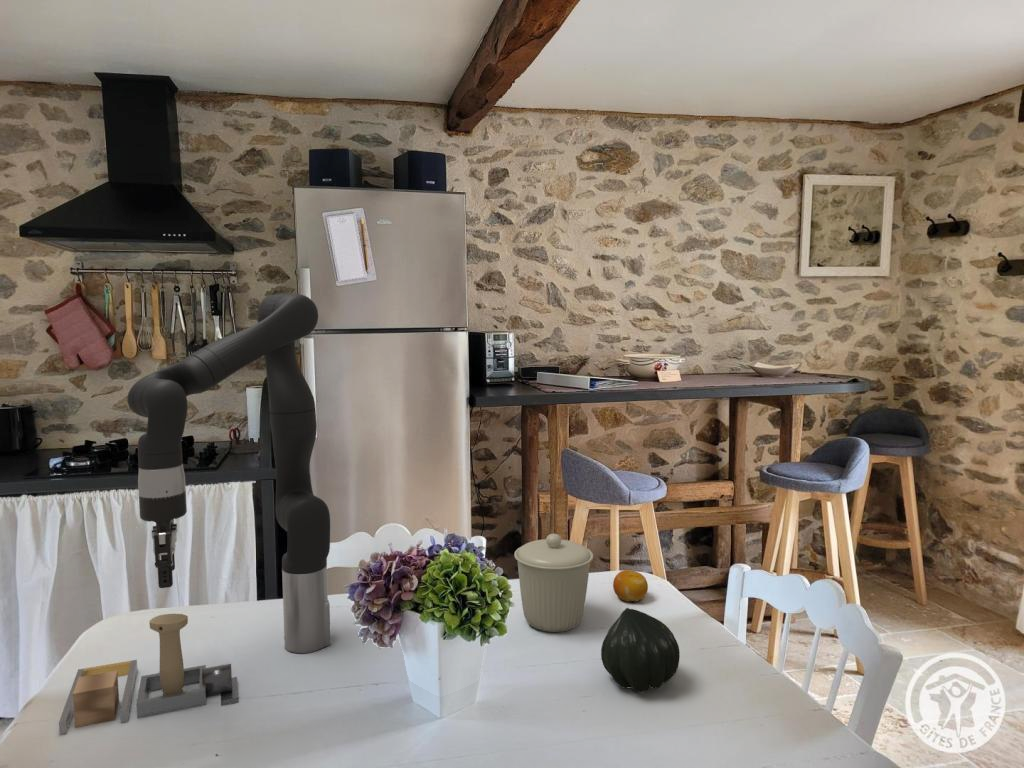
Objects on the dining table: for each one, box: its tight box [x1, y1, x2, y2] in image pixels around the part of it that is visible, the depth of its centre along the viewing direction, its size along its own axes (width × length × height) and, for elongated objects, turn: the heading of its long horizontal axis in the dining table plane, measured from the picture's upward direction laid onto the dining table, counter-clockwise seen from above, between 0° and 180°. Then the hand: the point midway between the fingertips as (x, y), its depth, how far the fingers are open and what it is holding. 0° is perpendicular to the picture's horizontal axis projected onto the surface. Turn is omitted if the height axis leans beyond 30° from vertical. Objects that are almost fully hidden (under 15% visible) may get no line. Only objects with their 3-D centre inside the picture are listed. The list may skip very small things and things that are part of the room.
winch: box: [136, 663, 240, 719], centre depth 132 cm, size 16×10×6 cm, turn 113°
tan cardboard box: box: [73, 671, 120, 728], centre depth 125 cm, size 6×6×6 cm
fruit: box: [612, 569, 649, 602], centre depth 179 cm, size 8×8×8 cm
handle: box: [149, 613, 189, 696], centre depth 130 cm, size 5×6×15 cm
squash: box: [600, 607, 681, 693], centre depth 139 cm, size 14×15×15 cm
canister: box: [514, 533, 594, 633], centre depth 164 cm, size 18×18×21 cm
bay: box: [58, 659, 138, 736], centre depth 130 cm, size 10×19×4 cm, turn 23°
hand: (167, 578), depth 128 cm, fingers open, 8 cm apart
